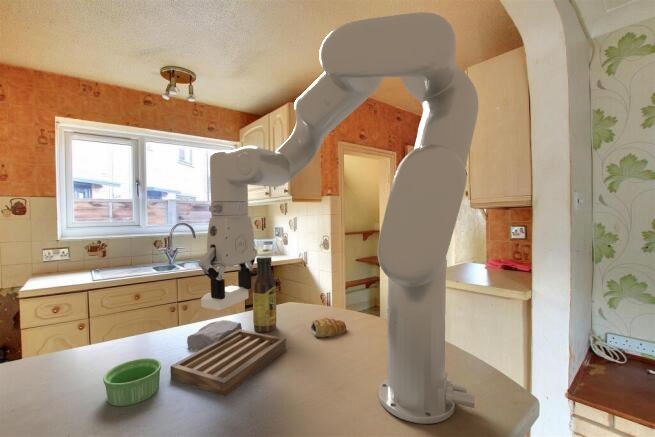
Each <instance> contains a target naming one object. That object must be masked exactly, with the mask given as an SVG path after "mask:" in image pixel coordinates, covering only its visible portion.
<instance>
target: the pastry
mask: <svg viewBox="0 0 655 437" xmlns="http://www.w3.org/2000/svg"><path fill="white" fill-rule="evenodd" d="M310 329H311V332H312V334H313V335H314V336H315V337H318V338H326V337H329V338H331V337H334V336H338V335H341V334H344V333H345V332H346V331H347V325H346V323H345V321H342V320H339V319H338V320H337V319H335V318H327V317H323V318H316V319H312V321H311V324H310Z"/></svg>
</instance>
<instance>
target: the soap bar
mask: <svg viewBox="0 0 655 437" xmlns="http://www.w3.org/2000/svg"><path fill="white" fill-rule="evenodd" d="M247 299H249V289H244V287H239V286H238V285H228V286H225V298H224V299H215V298H212V297H211V291H210V292H207V293H206V294H204V295H203V296H202V297H201V298H200V305H201V306H200V307H201V308H204V309H210V310H213V311H214V310H215V311H222V310H223V309H226V308H229V307H231V306H233V305H235V304H238V303H240V302H243V301H245V300H247Z"/></svg>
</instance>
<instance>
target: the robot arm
mask: <svg viewBox="0 0 655 437" xmlns="http://www.w3.org/2000/svg"><path fill="white" fill-rule="evenodd" d="M456 50H457V40H456V34H455V31H454V29H453V26H452V25H451V23H450V22H449V21H448V20H447V19H446V17H445V18H444V17H443V16H442V15H439V14H437V13H434V12H423V11H421V12H420V11H419V12H409V13H403V14H396V15H395V14H394V15H387V16H378V17H372V18H371V17H370V18H364V19H359V20H354V21H350V22H346V23H344V24H342V25H340V26H337V27H335V28H334V29H333V30H331V32H329V33H328V34H327V36H325V38H324V40H323V41H322V44H321V46H320V49H319V63H320V65H321V68H322V69H323V71H324V72H323V73H322V74H320V76H319V77H317V79H316V80H315V81H313V83H311V85H310V86H309V87H307V89H305V91H303V92H302V93H301V95H299V96H298V97H297V98H296V100H295V101H294V103H293V104H294V105H293V109H294V114H295V126H294V128H293V131H292V133H291V134H290V136H289V138H287V140H286V141H285V142H283V144H282V145H280V147H278V148H277V149H276V150H270V149H267V148H264V147H260V146H256V145H246V146H242V147H240V148H239V147H238V148H237V149H233V150H216V151H214V152H212V153H211V154H210V157H209V178H210V180H209V181H210V206H209V207H208V211H209V212H210V214H211V216H210V218H209V220H208V221H209V223H208V228H207V239H206V253H205V254H204V255H203V257H202V258H201V259H199V261H198V267H200V268H201V269H202V271H203V273H204V274H205V275H206V276H207V279H208V280H210V292H211V297H212V298H215V299H224V298H225V287H226V284H225V283H226V281H225V278H224V279H223V276H224V274H225V271H226V268H229V267H233V266H238V267H239V269H238V270H237V281H238V282H237V283H238V284H237V286H239V287H244V289H247V290H250V289H252V271H253V268H254V264H255V261H256V258H257V255H258V250H257V249H256V244H255V235H254V227H253V222H252V219H251V216H249V191H248V187H249V186H248V185H250V186H259V187H272V188H273V187H275V188H277V187H281V186H283V185H286V184H287V183H289V182H290V181H292V180H293V179H294V178H295V177H296V176H297V175H299V174H300V173H301V172H302V171H303V170H304V169H305V168H306V167H307V166H308V165H309V164H310V163H311V162H312V161H313V159H314V158H315V156H316V155H317V153H318V152H319V150H320V148H321V147H322V145H323V142H324V141H325V139H326V137H328V135H329V134H330V133H331V132H332V131H334V129H335V128H336V127H338V126H339V125H340V124H341V123H342V122H343V121H344V120H345V119H346V118H348V116H350V115H351V114H352V113H353V112H354V111H355V110H357V109H358V108H359V107H360V106H361V105H362V104H363V103H364V102H365V101H367V100H368V99H369V98H370V97H371V96H372V95H374V93H376V91H377V90H378V89H379V87H380V86H381V84H382V82H383V79H384V78H385V79H386V78H387V79H388V78H400V79H401V82H402V85H403V87H404V88H405V89H406V92H408V93H409V94H410V95H411V96H413V98H415V99H416V100H417V101H419V103H420V104H421V106H422V115H421V119H420V121H419V125H418V129H417V133H416V139H415V143H414V147H413V150H412V149H411V151H410V152H408V153H407V154H406V155H405V156H404V157H403V158H402V160H401V161H400V162H399V164H398V166H397V168H396V170H395V173H394V176H393V179H392V183H391V186H390V190H389V191H390V192H389V195H388V198H387V204H386V208H385V211H384V216H383V219H382V222H381V227H380V232H379V237H378V241H377V247H376V248H377V249H376V250H377V251H376V253H377V254H376V255H377V261H378V263H379V264H378V265H379V266H380V267H381V270H382V272H383V273H384V274H385V275H386V277H388V279H387V309H386V310H387V314H386V315H387V316H386V317H387V323H386V324H387V326H386V327H387V329H386V330H387V338H386V339H387V378H385V379H384V380H382V382H381V383H380V385H379V387H378V399H379V402H380V403H381V405H382V407H383V408H385V409H386V410H387V411H388V412H389V413H390V414H392V415H394V416H395V417H397V418H400V420H404V421H407V422H411V423H415V424H422V425H423V424H424V425H426V424H428V425H429V424H435V423H441V422H443V421H445V420H447V419H448V418H450V417H451V416H452V415H453V414H454V411H455V405H456V404H457V405H460V406H465V407H468V408H471V409H475V394H473V393H469V392H468V391H467V389H468V386H467V385H461V384H456V383H455V384H454V383H453V382H452V381H451V380H450V381H449V372H447V371H446V313H447V312H446V310H447V308H446V306H447V305H446V304H447V302H446V301H447V300H446V297H447V296H446V295H447V294H446V293H447V292H446V291H447V290H446V287H447V286H446V285H447V282H446V281H447V280H446V279H447V256H448V252H449V249H450V245H451V241H452V238H453V234H454V232H455V227H456V224H457V220H458V217H459V212H460V210H461V206H462V202H463V198H464V194H465V190H466V186H467V179H468V178H467V177H468V176H467V170H466V166H467V161H468V158H469V153H470V152H471V147H472V141H473V138H474V133H475V129H476V125H477V119H478V113H479V96H478V92H477V89H476V87H475V84H474V83H473V81H472V79H471V78H470V76H468V74H467V73H466V72H465V71H464V70H462V69H461V67H459V66H458V65H457V63H456V53H457V51H456Z"/></svg>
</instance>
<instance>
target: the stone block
mask: <svg viewBox="0 0 655 437" xmlns="http://www.w3.org/2000/svg"><path fill="white" fill-rule="evenodd" d="M239 329H241V330H243V329H242V323H241V322H237V321H232V320H225V319H222V320H218V321H212V322H210V323H207V324H206V325H204V326H203V327H200V329H198V331H196V332H195V333H192V334H190V335H188V336H187V339H186V344H187V347H188V349H189V350H194V351H200V350H201V349H203V348H205V347H207V346H209V345H211V344H213V343H215V342H216V341H218V340H220V339H222V338H224V337H226V336H228V335H230V334H231V333H233V332H235V331H237V330H239Z"/></svg>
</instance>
